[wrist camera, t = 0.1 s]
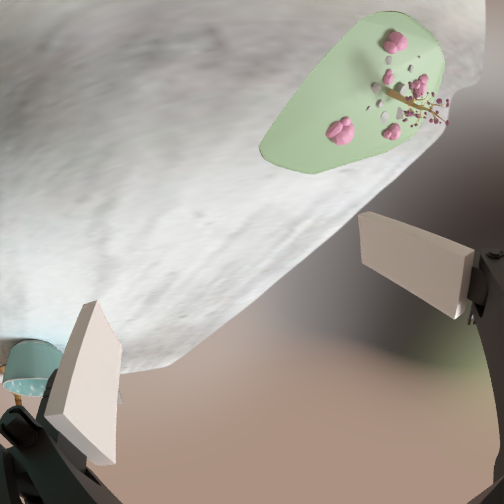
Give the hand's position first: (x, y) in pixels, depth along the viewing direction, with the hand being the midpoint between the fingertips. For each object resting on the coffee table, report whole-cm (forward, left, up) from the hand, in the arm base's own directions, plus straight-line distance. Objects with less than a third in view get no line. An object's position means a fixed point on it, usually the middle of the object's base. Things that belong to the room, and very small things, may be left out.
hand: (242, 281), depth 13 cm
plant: (+1, +20, -16) cm, 25 cm away
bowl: (+31, -37, -15) cm, 51 cm away
